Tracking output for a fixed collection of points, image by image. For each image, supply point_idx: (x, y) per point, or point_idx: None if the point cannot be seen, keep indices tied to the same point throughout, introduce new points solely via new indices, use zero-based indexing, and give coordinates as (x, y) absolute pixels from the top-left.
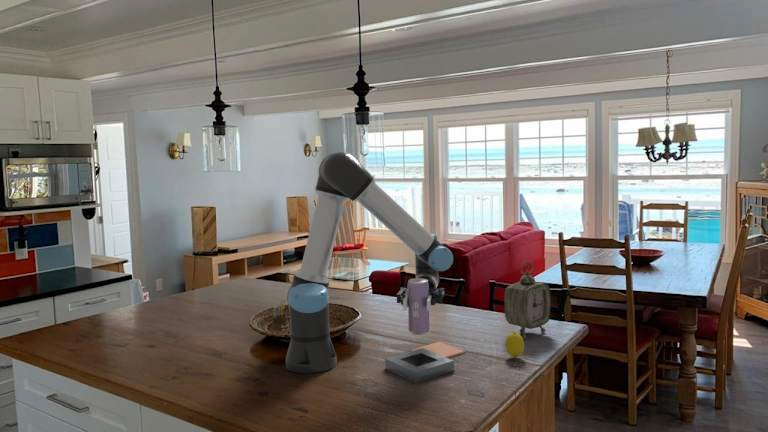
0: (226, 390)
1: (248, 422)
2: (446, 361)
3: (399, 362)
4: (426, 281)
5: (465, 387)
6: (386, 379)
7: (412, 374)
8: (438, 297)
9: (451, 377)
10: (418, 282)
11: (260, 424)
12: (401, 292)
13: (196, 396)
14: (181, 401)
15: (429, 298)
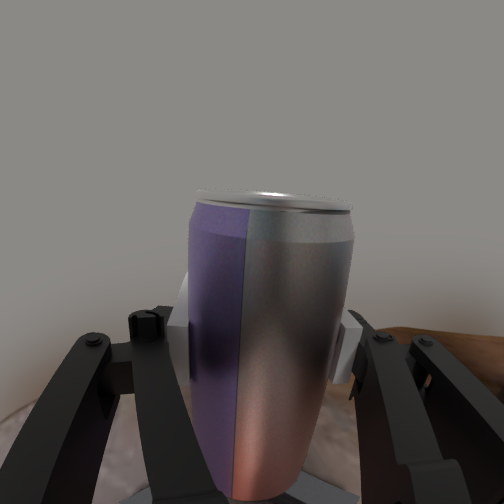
0: (490, 359)
1: (401, 329)
2: (144, 498)
3: (302, 483)
4: (206, 190)
5: (117, 428)
6: (314, 457)
7: None
8: (113, 345)
9: (140, 478)
10: (255, 191)
11: (387, 328)
12: (451, 375)
13: (493, 345)
14: (489, 337)
15: (185, 289)
